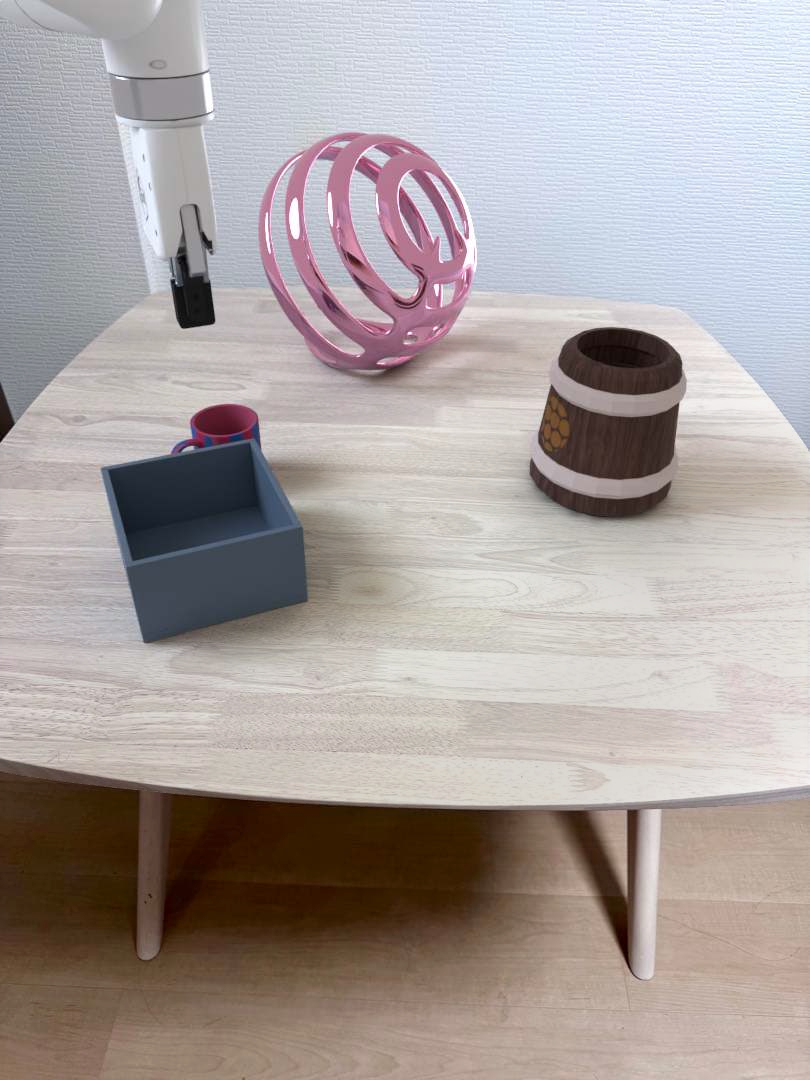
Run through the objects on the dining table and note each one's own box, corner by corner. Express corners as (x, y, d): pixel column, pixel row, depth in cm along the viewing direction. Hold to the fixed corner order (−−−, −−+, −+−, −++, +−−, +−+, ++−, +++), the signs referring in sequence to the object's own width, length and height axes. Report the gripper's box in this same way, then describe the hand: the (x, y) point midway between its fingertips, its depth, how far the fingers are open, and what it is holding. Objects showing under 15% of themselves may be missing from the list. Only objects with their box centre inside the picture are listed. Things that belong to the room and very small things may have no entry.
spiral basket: (185, 182, 105) (312, 65, 85) (354, 199, 124) (491, 106, 104) (238, 402, 107) (376, 338, 87) (397, 386, 126) (541, 330, 105)
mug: (690, 522, 84) (728, 384, 74) (538, 523, 83) (558, 384, 74) (638, 421, 99) (664, 298, 90) (510, 422, 99) (524, 297, 90)
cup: (276, 479, 88) (271, 422, 84) (191, 515, 83) (181, 456, 79) (241, 453, 92) (235, 397, 88) (158, 485, 87) (147, 427, 83)
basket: (303, 526, 69) (254, 437, 79) (125, 567, 64) (100, 467, 75) (308, 600, 73) (261, 507, 84) (143, 643, 69) (117, 538, 80)
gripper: (100, 82, 69) (140, 298, 81) (127, 121, 58) (169, 365, 70) (192, 77, 72) (219, 288, 83) (234, 113, 61) (258, 350, 72)
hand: (196, 322), depth 76 cm, fingers closed
